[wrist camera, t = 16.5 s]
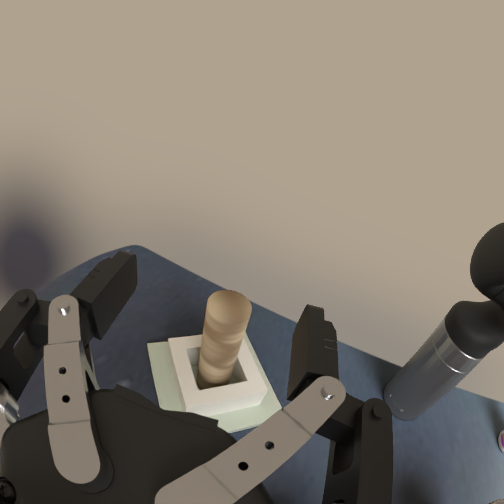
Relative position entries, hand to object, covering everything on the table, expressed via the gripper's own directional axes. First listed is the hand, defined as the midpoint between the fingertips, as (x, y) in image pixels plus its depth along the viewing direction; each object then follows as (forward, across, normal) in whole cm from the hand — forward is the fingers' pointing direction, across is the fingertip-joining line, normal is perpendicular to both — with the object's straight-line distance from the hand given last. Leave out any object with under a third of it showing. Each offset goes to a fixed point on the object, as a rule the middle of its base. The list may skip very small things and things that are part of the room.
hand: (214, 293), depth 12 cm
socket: (+11, 0, +28) cm, 30 cm away
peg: (+11, 0, +27) cm, 29 cm away
